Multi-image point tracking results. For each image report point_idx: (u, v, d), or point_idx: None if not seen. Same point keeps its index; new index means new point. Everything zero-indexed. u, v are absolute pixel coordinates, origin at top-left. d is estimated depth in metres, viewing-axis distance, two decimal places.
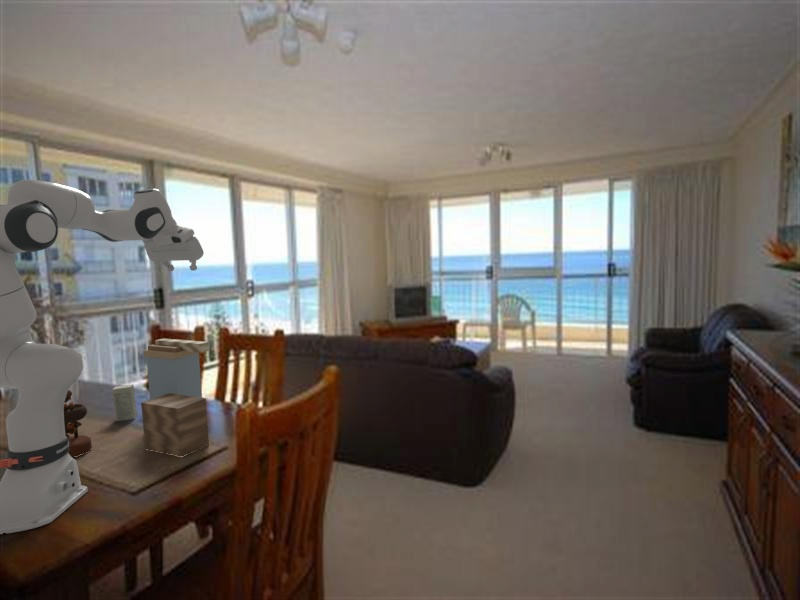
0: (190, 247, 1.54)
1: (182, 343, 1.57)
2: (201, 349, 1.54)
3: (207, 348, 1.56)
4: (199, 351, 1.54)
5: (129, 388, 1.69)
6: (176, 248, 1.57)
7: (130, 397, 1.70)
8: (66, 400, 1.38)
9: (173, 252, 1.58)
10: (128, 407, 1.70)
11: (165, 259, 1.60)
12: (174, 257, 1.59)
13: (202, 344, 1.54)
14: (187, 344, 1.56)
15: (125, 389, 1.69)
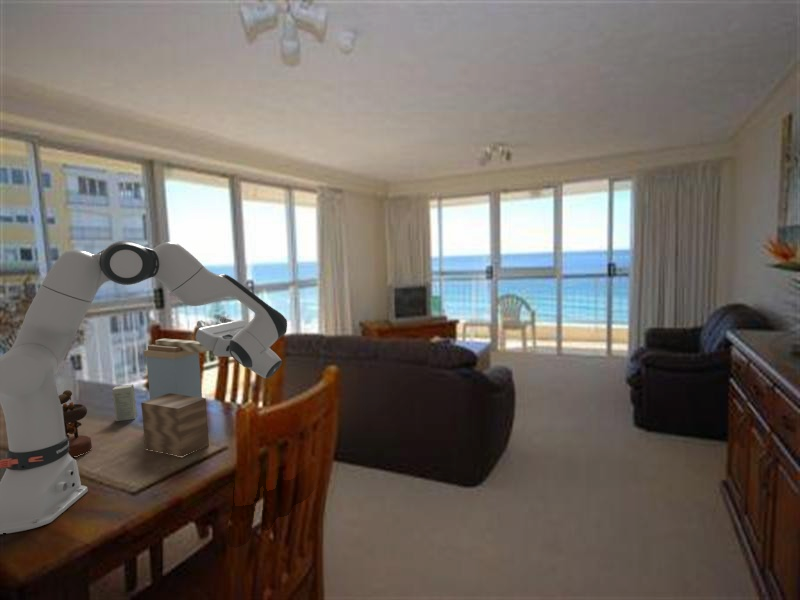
0: (210, 335, 1.41)
1: (182, 343, 1.57)
2: (201, 349, 1.54)
3: None
4: (199, 351, 1.54)
5: (129, 388, 1.69)
6: (224, 332, 1.47)
7: (130, 397, 1.70)
8: (66, 400, 1.38)
9: (226, 329, 1.49)
10: (128, 407, 1.70)
11: (230, 322, 1.54)
12: (223, 325, 1.50)
13: None
14: (187, 344, 1.56)
15: (125, 389, 1.69)
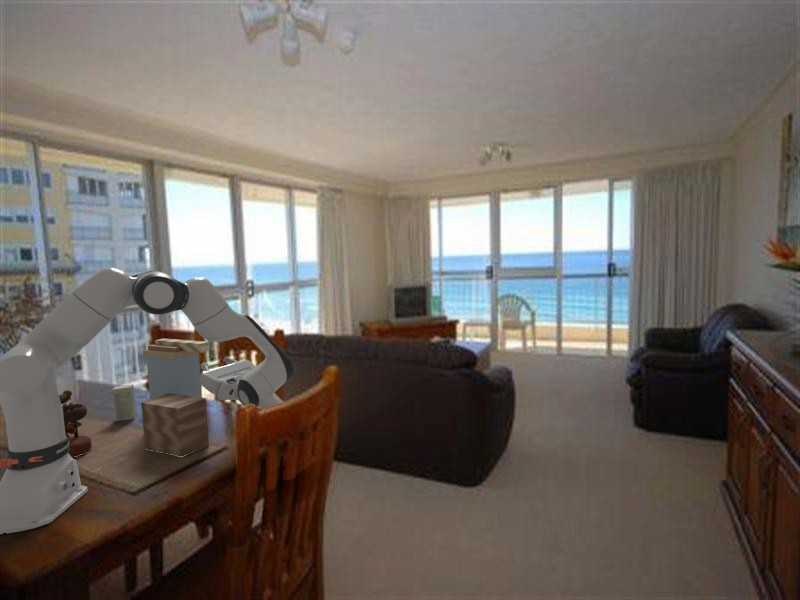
0: (214, 379, 1.42)
1: (182, 343, 1.57)
2: (201, 349, 1.54)
3: (207, 348, 1.56)
4: (199, 351, 1.54)
5: (129, 388, 1.69)
6: (228, 375, 1.48)
7: (130, 397, 1.69)
8: (66, 400, 1.38)
9: (229, 371, 1.50)
10: (128, 407, 1.70)
11: (234, 363, 1.55)
12: (226, 368, 1.51)
13: (202, 344, 1.54)
14: (187, 344, 1.56)
15: (125, 389, 1.69)
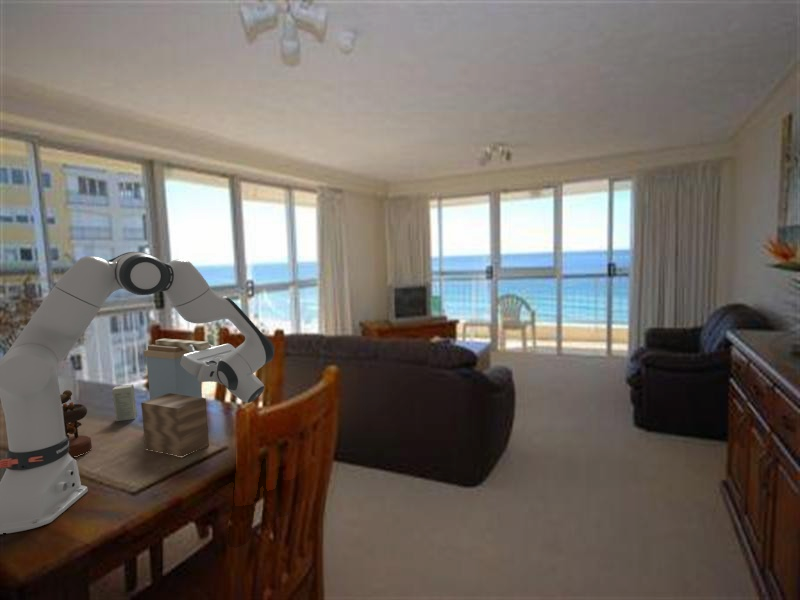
0: (195, 361, 1.45)
1: (182, 343, 1.57)
2: (201, 349, 1.54)
3: None
4: None
5: (129, 388, 1.69)
6: (208, 358, 1.51)
7: (130, 397, 1.70)
8: (66, 400, 1.38)
9: (210, 354, 1.53)
10: (128, 407, 1.70)
11: (215, 347, 1.58)
12: (208, 351, 1.54)
13: (202, 344, 1.54)
14: (187, 344, 1.56)
15: (125, 389, 1.69)
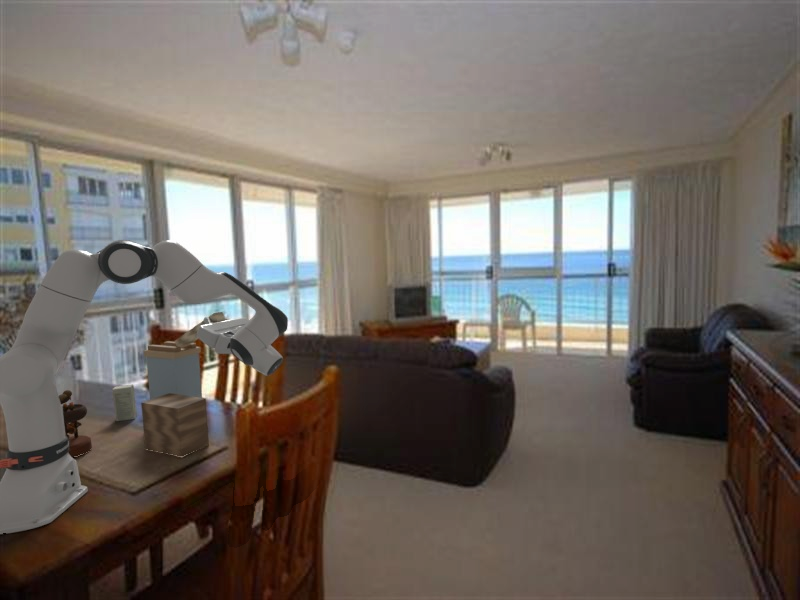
0: (212, 332, 1.41)
1: (198, 325, 1.53)
2: (216, 318, 1.50)
3: (223, 317, 1.52)
4: (215, 321, 1.50)
5: (129, 388, 1.69)
6: (225, 330, 1.47)
7: (130, 397, 1.70)
8: (66, 400, 1.38)
9: (227, 326, 1.49)
10: (128, 407, 1.70)
11: (231, 320, 1.53)
12: (224, 323, 1.50)
13: (216, 313, 1.50)
14: (203, 322, 1.52)
15: (125, 389, 1.69)
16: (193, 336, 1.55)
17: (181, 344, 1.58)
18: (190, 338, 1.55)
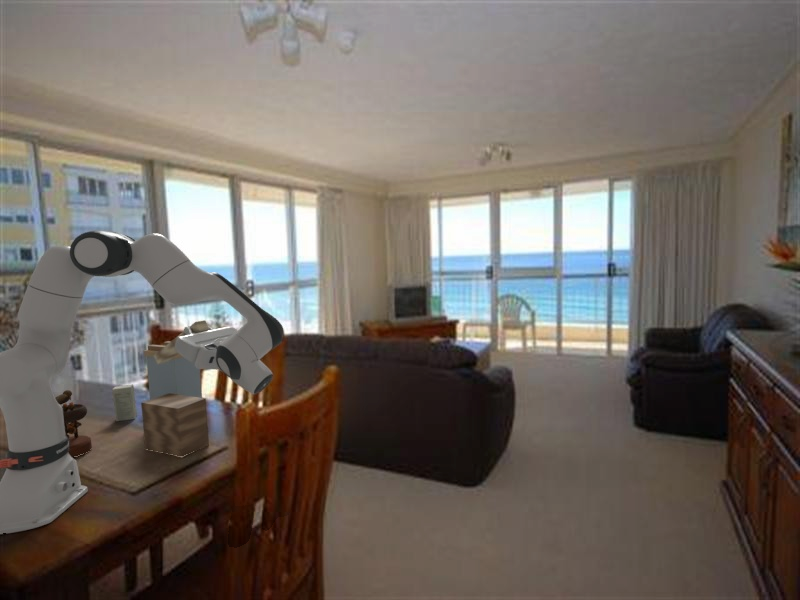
0: (191, 345, 1.23)
1: (179, 336, 1.36)
2: (198, 327, 1.32)
3: (206, 326, 1.35)
4: (197, 331, 1.32)
5: (129, 388, 1.69)
6: (208, 342, 1.29)
7: (130, 397, 1.70)
8: (66, 400, 1.38)
9: (210, 337, 1.31)
10: (128, 407, 1.70)
11: (216, 330, 1.36)
12: (207, 333, 1.32)
13: (198, 322, 1.33)
14: (183, 333, 1.35)
15: (125, 389, 1.69)
16: (174, 349, 1.37)
17: (161, 359, 1.40)
18: (170, 351, 1.38)
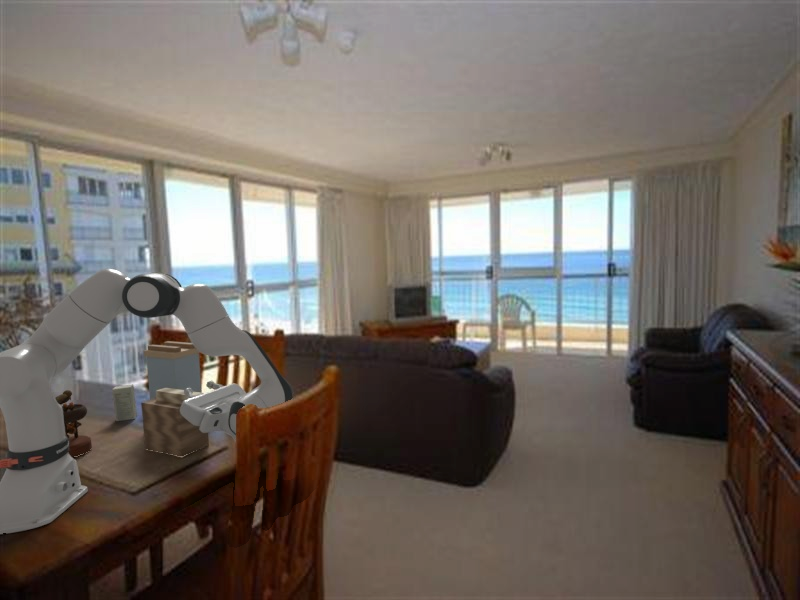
0: (196, 409, 1.25)
1: (186, 396, 1.37)
2: None
3: None
4: None
5: (129, 388, 1.69)
6: (212, 403, 1.31)
7: (130, 397, 1.70)
8: (66, 400, 1.38)
9: (214, 398, 1.33)
10: (128, 407, 1.70)
11: (220, 389, 1.38)
12: (211, 394, 1.34)
13: None
14: None
15: (125, 389, 1.69)
16: (177, 402, 1.39)
17: (161, 399, 1.42)
18: (173, 401, 1.40)
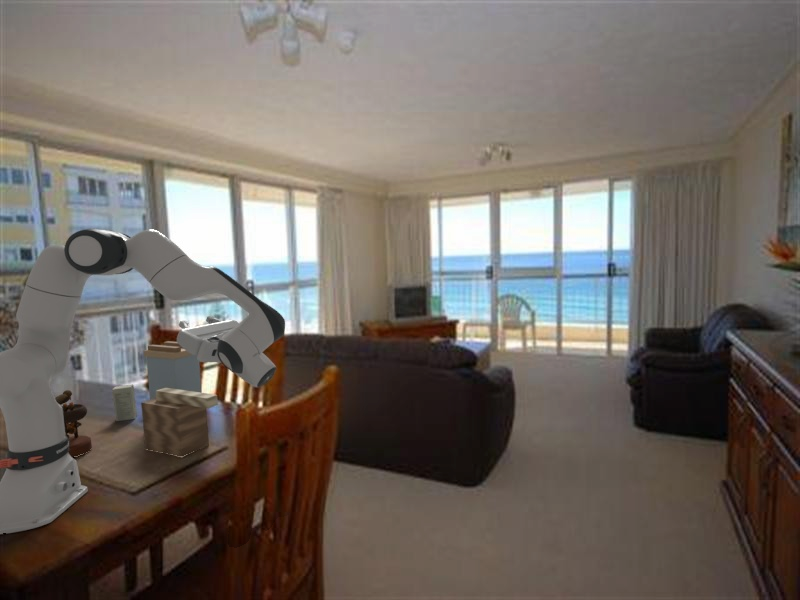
0: (194, 337, 1.22)
1: (186, 396, 1.37)
2: (208, 404, 1.34)
3: (215, 402, 1.36)
4: (206, 406, 1.34)
5: (129, 388, 1.69)
6: (210, 334, 1.28)
7: (130, 397, 1.70)
8: (66, 400, 1.38)
9: (212, 330, 1.30)
10: (128, 407, 1.70)
11: (218, 323, 1.35)
12: (209, 326, 1.31)
13: (209, 398, 1.34)
14: (192, 398, 1.36)
15: (125, 389, 1.69)
16: (177, 402, 1.39)
17: (161, 399, 1.42)
18: (173, 401, 1.40)
